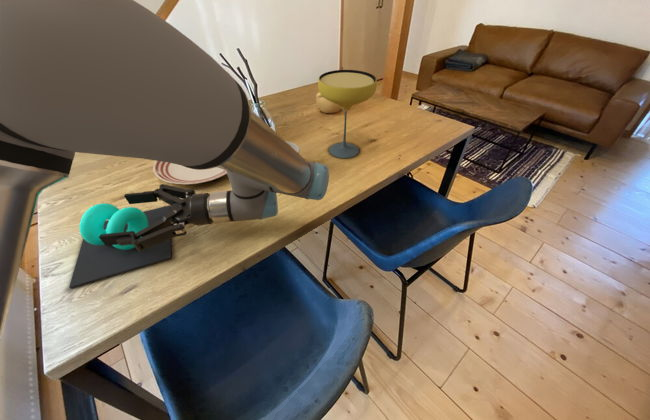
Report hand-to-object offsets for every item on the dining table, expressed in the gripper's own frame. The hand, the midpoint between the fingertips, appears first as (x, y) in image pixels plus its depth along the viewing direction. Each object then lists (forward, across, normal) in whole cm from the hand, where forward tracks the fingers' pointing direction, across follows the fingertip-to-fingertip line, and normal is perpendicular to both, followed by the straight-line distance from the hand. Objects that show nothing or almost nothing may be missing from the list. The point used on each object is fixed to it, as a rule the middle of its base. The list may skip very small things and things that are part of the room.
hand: (115, 218), depth 63 cm
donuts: (+1, 0, -8) cm, 8 cm away
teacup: (-38, +25, -8) cm, 46 cm away
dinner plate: (-11, +32, -8) cm, 35 cm away
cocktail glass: (-61, +35, -8) cm, 71 cm away
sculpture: (-62, +72, -8) cm, 95 cm away
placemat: (+1, 0, -8) cm, 8 cm away
